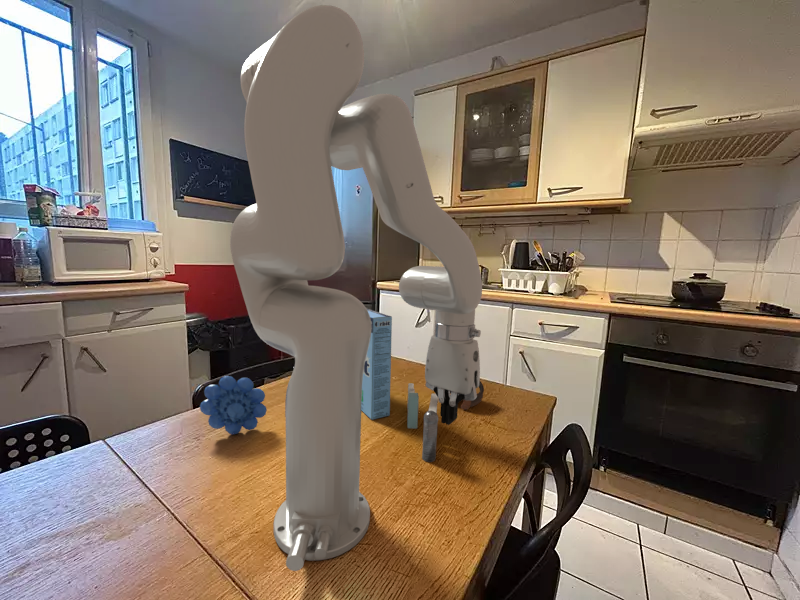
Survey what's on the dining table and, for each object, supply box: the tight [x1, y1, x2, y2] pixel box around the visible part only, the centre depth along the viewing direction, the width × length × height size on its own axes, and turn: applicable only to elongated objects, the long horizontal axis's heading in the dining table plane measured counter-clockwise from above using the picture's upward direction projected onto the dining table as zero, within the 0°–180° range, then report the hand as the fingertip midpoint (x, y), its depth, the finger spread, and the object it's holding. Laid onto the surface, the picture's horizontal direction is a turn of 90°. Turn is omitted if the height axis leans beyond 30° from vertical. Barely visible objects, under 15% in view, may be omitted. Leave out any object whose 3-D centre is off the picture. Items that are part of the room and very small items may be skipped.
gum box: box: [361, 307, 393, 421], centre depth 82 cm, size 20×5×23 cm, turn 31°
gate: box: [428, 393, 439, 414], centre depth 68 cm, size 11×1×7 cm, turn 171°
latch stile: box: [406, 392, 419, 429], centre depth 72 cm, size 2×2×7 cm
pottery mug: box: [450, 380, 485, 411], centre depth 85 cm, size 12×10×8 cm
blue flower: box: [199, 375, 268, 435], centre depth 66 cm, size 12×7×12 cm, turn 119°
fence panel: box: [406, 382, 416, 410], centre depth 77 cm, size 8×1×6 cm, turn 2°
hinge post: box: [421, 410, 439, 463], centre depth 61 cm, size 3×3×9 cm
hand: (448, 421), depth 68 cm, fingers closed
